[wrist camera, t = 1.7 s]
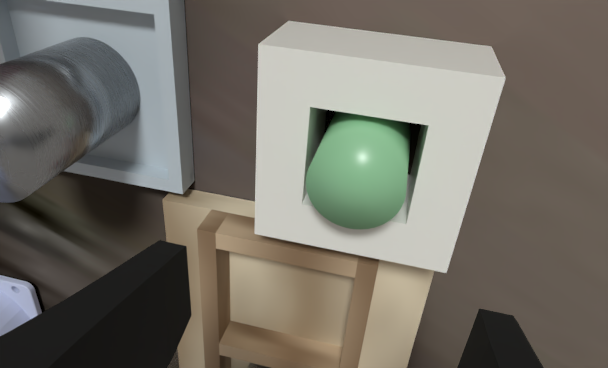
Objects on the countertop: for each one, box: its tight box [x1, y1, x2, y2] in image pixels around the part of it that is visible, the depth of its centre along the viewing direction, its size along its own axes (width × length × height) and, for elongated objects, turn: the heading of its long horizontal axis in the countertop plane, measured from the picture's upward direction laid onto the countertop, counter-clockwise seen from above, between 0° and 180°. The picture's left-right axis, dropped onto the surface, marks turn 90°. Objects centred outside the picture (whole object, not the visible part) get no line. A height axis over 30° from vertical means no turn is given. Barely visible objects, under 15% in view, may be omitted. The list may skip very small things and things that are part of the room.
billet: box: [0, 37, 140, 203], centre depth 17 cm, size 4×4×6 cm
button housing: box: [254, 21, 506, 273], centre depth 16 cm, size 7×7×4 cm
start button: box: [306, 111, 411, 229], centre depth 16 cm, size 3×3×4 cm
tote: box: [0, 0, 195, 194], centre depth 19 cm, size 8×8×1 cm
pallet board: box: [163, 189, 434, 368], centre depth 23 cm, size 12×14×3 cm
